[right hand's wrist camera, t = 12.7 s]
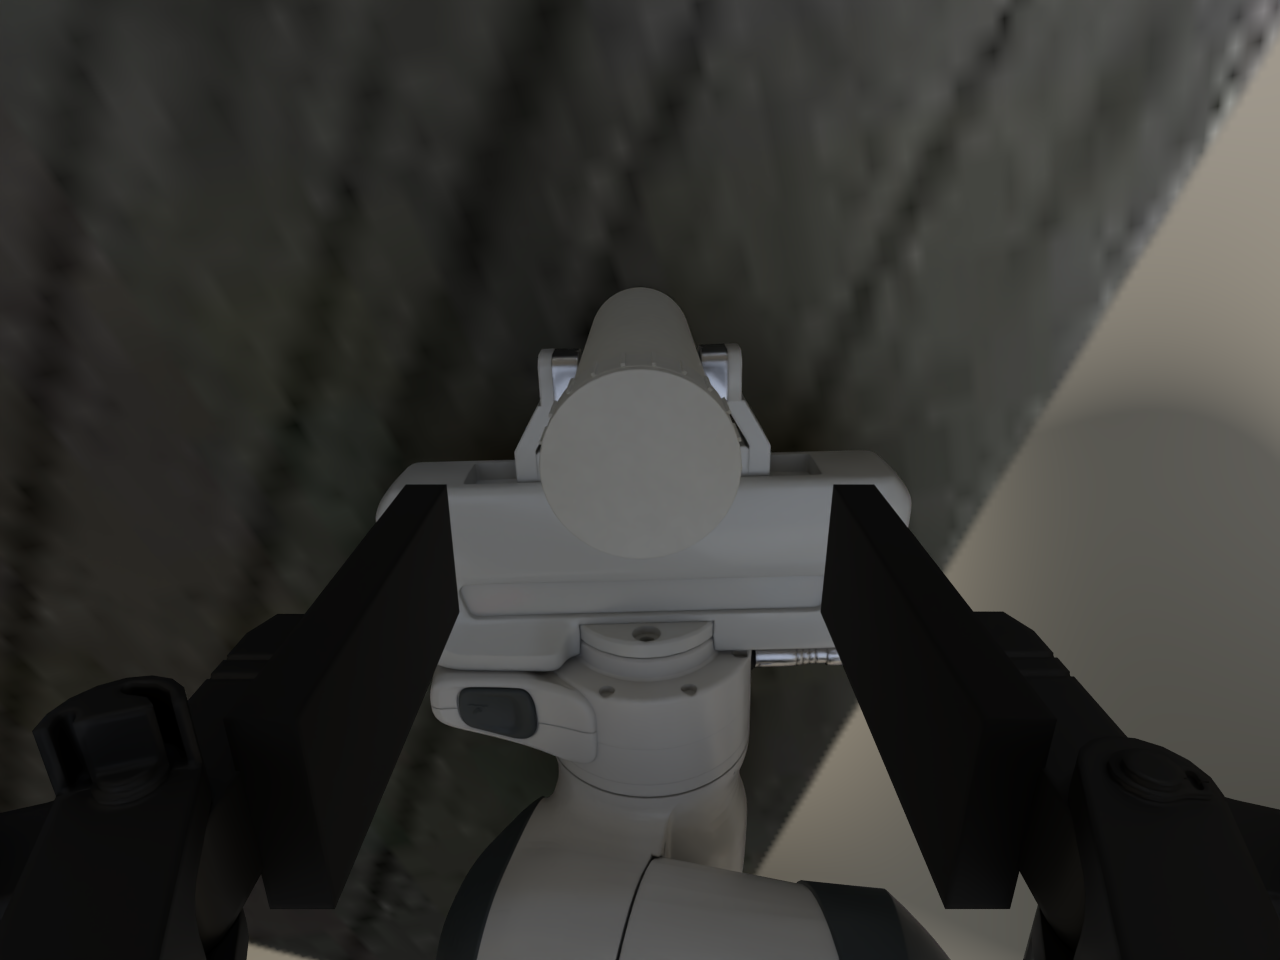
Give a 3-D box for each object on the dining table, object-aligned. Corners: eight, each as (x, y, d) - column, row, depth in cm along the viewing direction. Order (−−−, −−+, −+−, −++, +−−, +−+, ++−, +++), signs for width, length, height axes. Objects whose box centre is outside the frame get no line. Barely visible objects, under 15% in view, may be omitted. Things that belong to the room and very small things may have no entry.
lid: (702, 552, 21) (707, 582, 20) (525, 505, 21) (515, 533, 19) (763, 382, 19) (774, 400, 18) (570, 326, 19) (563, 340, 17)
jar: (672, 396, 35) (697, 561, 20) (580, 370, 35) (533, 518, 19) (701, 303, 34) (754, 403, 18) (605, 274, 33) (576, 353, 18)
